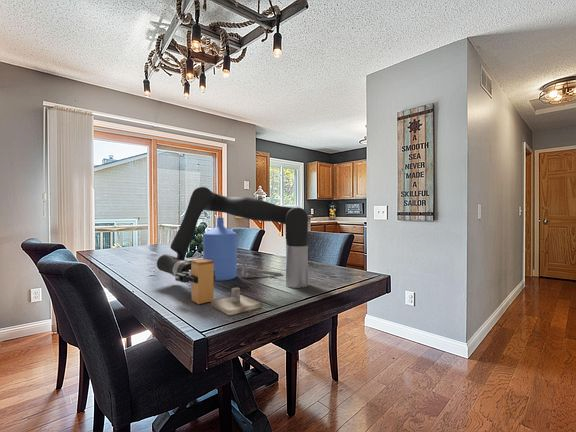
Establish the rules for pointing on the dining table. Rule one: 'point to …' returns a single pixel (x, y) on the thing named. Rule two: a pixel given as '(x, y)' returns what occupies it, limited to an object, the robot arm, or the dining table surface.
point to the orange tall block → (202, 281)
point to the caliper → (257, 271)
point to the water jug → (221, 251)
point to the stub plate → (235, 303)
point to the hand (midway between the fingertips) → (205, 279)
